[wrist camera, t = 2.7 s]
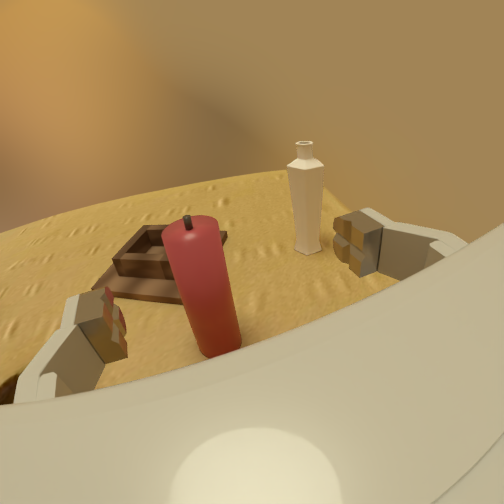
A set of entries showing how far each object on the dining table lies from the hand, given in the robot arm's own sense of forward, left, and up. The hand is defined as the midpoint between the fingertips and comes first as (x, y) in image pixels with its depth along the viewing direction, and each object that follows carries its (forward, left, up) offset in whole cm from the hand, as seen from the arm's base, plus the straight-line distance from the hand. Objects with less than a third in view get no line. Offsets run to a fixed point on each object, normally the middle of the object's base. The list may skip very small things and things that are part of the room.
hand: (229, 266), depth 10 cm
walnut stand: (-20, +23, -17) cm, 35 cm away
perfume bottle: (+1, +28, -17) cm, 33 cm away
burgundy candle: (-7, +10, -17) cm, 21 cm away
